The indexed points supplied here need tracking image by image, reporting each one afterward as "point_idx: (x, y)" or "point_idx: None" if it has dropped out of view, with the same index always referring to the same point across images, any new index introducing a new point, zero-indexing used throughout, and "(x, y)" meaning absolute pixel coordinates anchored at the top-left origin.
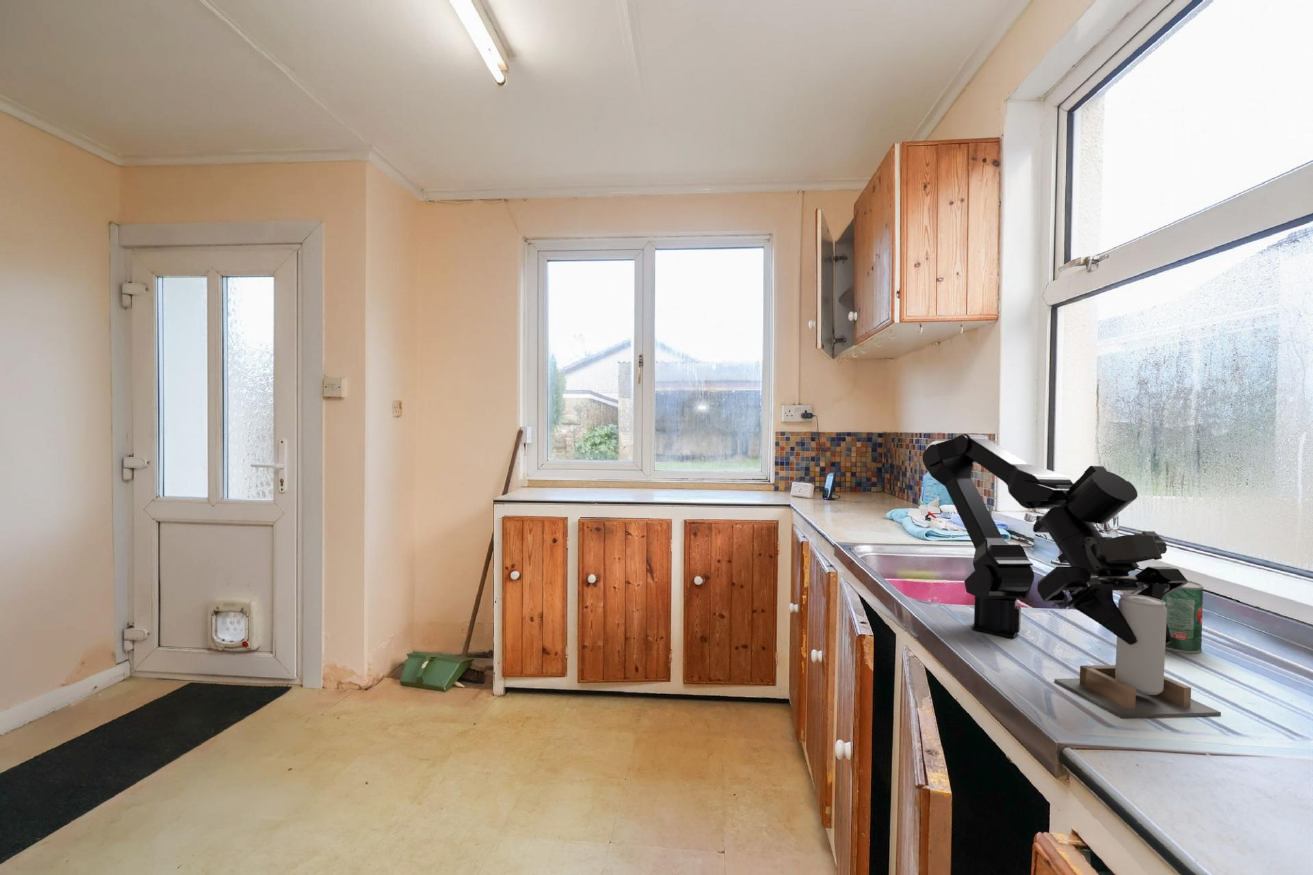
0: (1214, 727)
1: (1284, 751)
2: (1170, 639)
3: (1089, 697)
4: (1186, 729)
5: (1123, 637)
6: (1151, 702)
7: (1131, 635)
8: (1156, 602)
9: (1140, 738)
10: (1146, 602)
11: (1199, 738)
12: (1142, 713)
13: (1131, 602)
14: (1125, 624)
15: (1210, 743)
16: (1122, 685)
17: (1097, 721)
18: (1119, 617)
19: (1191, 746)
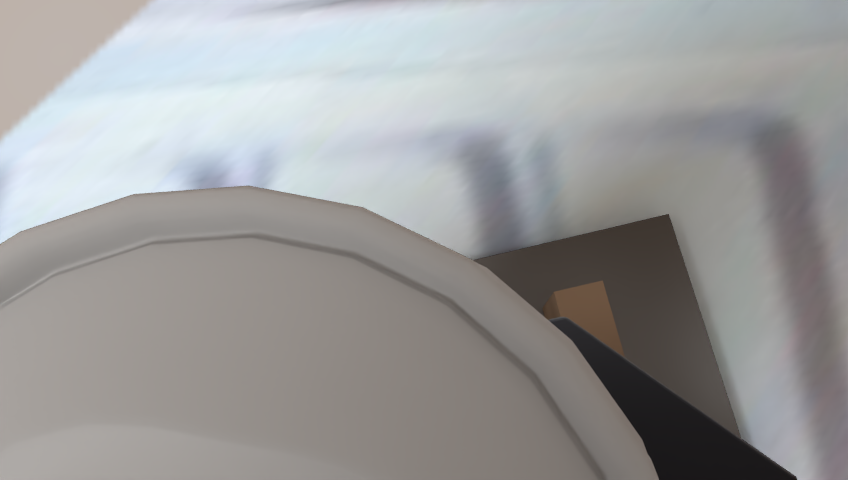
0: None
1: (147, 61)
2: None
3: (728, 402)
4: (413, 170)
5: None
6: None
7: (589, 339)
8: (6, 439)
9: (694, 47)
10: (295, 382)
11: (420, 98)
12: (543, 253)
13: (613, 475)
14: (639, 417)
15: (406, 65)
16: (607, 332)
17: (808, 167)
18: (736, 467)
19: (512, 24)
